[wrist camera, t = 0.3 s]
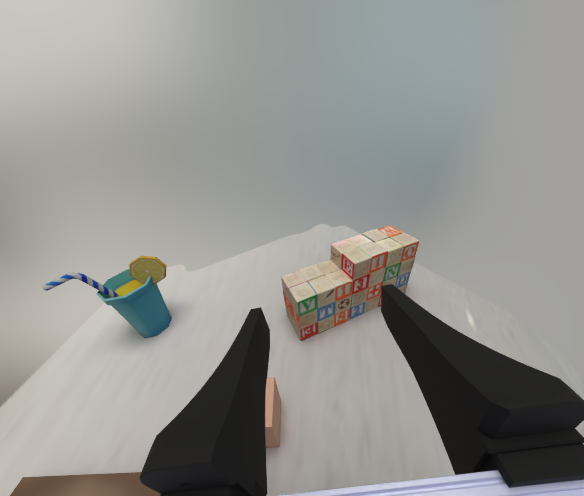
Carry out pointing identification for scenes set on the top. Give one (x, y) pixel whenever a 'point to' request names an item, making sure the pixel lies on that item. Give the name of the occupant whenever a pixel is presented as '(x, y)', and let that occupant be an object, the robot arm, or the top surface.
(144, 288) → the cup
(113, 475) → the walnut base
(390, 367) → the top surface
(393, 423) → the top surface
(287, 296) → the stack of blocks
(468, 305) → the top surface
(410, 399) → the top surface
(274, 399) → the terracotta block
